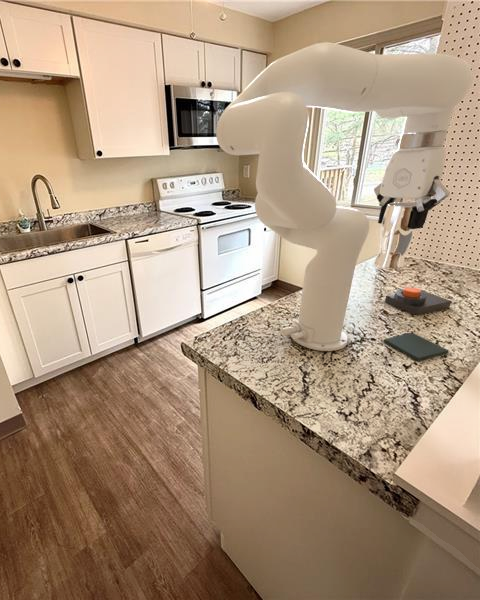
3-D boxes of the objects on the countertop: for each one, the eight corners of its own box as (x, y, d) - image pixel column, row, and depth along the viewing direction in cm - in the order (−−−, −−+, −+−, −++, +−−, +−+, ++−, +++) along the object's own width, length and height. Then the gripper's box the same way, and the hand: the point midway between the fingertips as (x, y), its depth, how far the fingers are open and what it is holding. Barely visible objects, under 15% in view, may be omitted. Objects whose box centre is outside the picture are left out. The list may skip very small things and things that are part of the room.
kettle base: (413, 316, 81) (417, 302, 80) (382, 302, 89) (385, 290, 88) (449, 308, 83) (454, 294, 82) (415, 295, 91) (419, 283, 90)
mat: (417, 361, 66) (418, 358, 65) (383, 342, 73) (384, 339, 73) (447, 353, 67) (449, 350, 67) (411, 335, 74) (412, 332, 74)
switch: (411, 299, 83) (413, 293, 82) (398, 294, 86) (400, 288, 85) (422, 296, 83) (424, 290, 82) (409, 291, 86) (411, 286, 86)
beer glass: (394, 260, 81) (410, 201, 75) (413, 269, 75) (432, 205, 68) (365, 261, 82) (379, 203, 75) (382, 270, 75) (398, 207, 69)
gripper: (370, 146, 73) (355, 221, 81) (454, 140, 58) (425, 234, 65) (395, 143, 75) (378, 218, 82) (483, 138, 59) (452, 230, 67)
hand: (399, 224), depth 74 cm, fingers closed on beer glass, 7 cm apart
